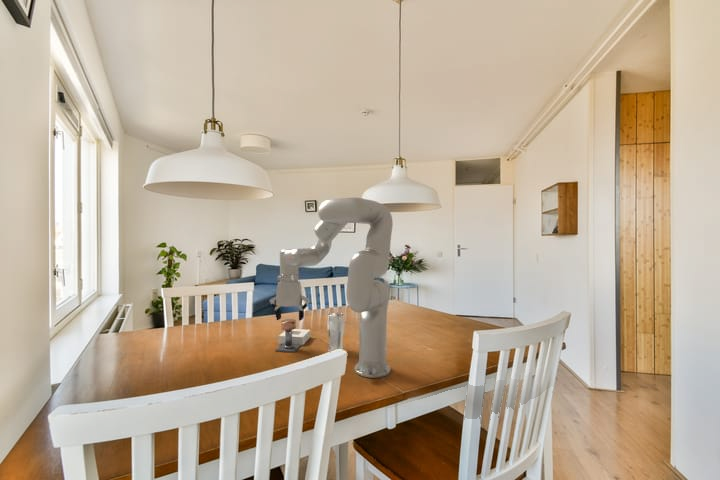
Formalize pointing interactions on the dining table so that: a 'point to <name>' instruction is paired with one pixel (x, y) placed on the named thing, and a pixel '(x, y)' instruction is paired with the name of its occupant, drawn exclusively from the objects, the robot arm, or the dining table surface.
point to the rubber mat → (282, 349)
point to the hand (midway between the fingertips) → (289, 319)
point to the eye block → (296, 336)
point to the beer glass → (335, 330)
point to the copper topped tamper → (288, 331)
